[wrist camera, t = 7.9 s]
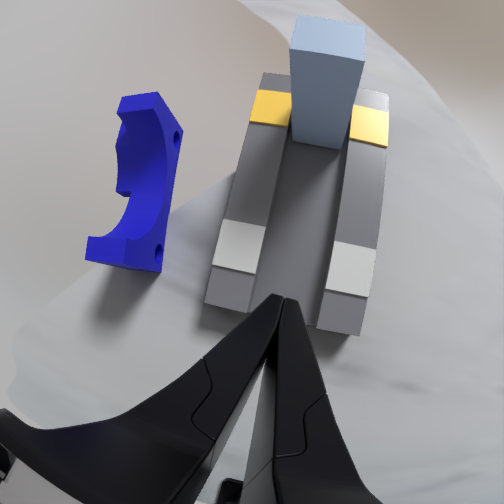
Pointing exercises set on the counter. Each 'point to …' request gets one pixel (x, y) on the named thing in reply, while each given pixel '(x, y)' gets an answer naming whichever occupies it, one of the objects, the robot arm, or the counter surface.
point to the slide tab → (324, 78)
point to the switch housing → (303, 213)
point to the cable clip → (142, 184)
